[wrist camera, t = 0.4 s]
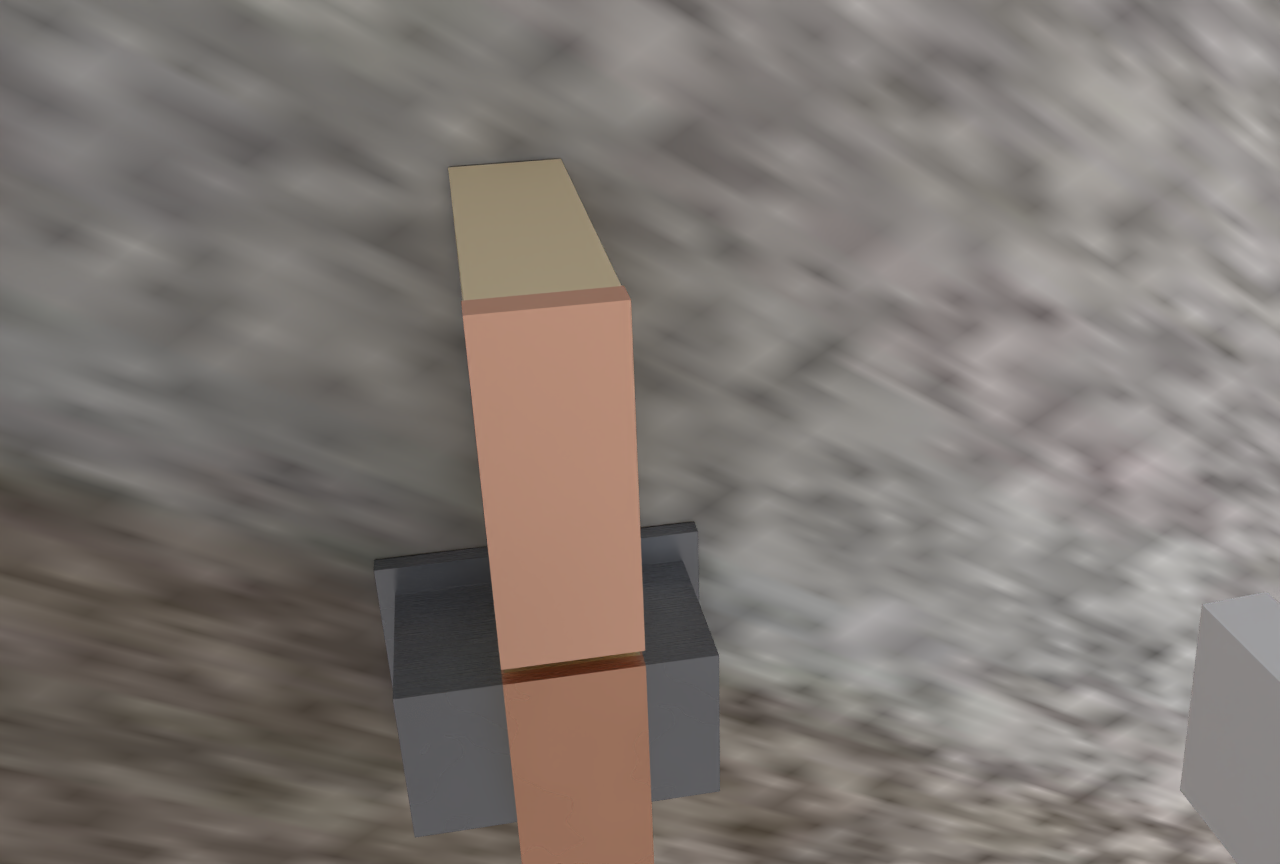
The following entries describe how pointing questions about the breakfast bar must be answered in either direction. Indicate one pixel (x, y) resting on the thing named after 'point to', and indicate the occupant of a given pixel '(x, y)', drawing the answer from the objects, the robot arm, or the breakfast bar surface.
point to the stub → (550, 414)
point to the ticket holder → (550, 710)
